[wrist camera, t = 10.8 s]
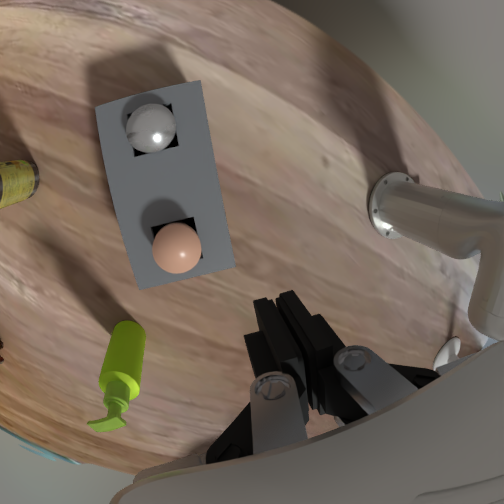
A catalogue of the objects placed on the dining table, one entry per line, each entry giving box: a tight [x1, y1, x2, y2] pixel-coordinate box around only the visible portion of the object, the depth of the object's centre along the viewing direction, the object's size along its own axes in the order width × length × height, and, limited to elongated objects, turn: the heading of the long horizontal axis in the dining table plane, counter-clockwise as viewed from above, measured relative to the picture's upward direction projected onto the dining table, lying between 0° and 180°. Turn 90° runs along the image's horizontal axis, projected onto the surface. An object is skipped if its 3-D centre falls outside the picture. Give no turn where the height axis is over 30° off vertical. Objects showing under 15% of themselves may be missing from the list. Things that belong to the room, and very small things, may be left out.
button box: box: [95, 80, 236, 290], centre depth 34 cm, size 12×22×10 cm, turn 10°
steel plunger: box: [126, 104, 176, 153], centre depth 29 cm, size 5×5×8 cm
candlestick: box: [433, 337, 460, 371], centre depth 57 cm, size 13×13×30 cm
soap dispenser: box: [87, 321, 146, 432], centre depth 35 cm, size 6×7×20 cm
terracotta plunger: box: [152, 220, 201, 274], centre depth 33 cm, size 5×5×8 cm
